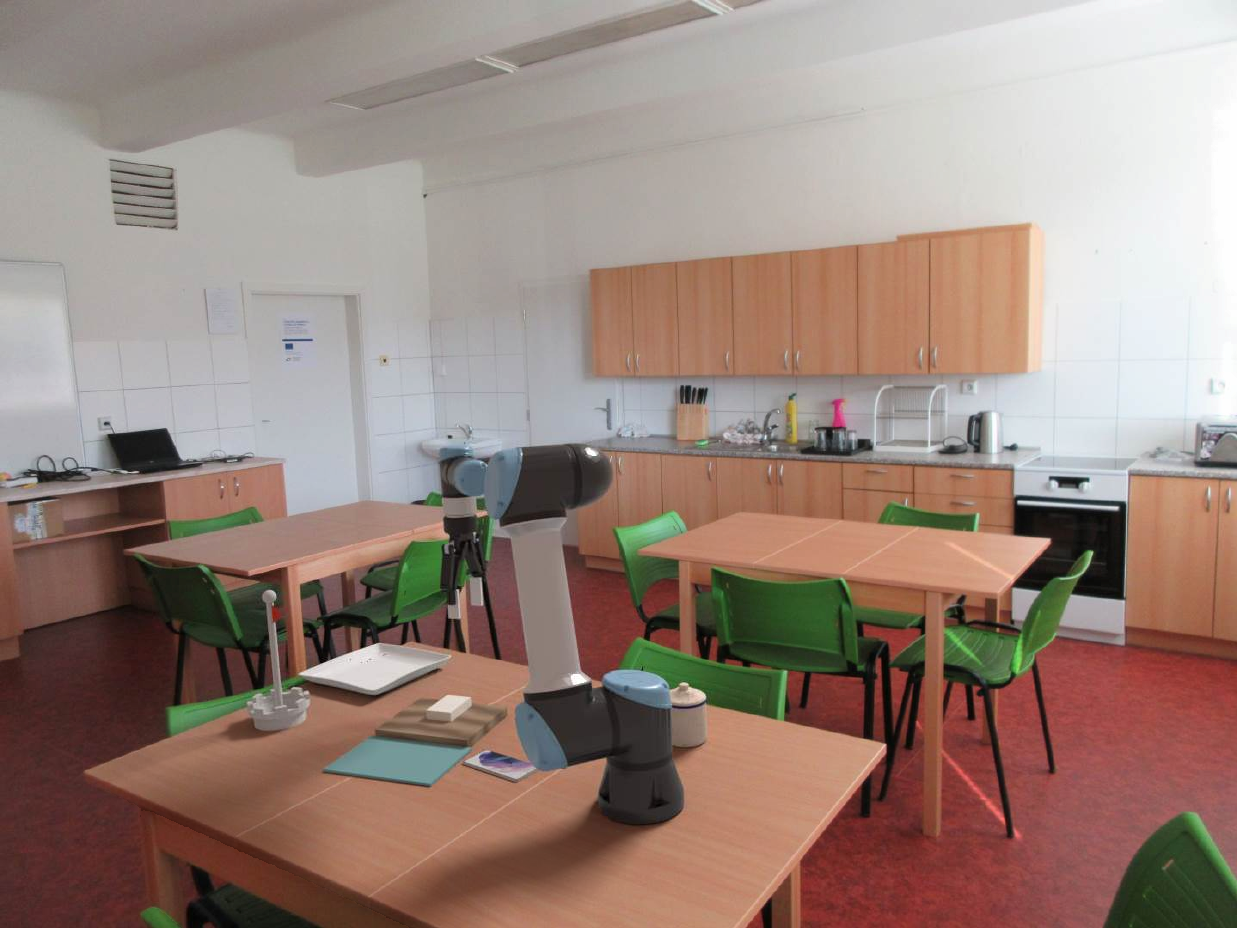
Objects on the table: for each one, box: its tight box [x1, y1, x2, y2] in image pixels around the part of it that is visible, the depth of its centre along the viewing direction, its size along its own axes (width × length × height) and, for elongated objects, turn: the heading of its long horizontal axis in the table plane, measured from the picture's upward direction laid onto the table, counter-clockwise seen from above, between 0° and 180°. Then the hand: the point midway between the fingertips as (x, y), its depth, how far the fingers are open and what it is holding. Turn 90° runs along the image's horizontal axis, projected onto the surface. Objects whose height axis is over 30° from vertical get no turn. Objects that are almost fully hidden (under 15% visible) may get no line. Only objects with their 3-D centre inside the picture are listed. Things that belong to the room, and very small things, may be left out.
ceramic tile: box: [426, 694, 473, 722], centre depth 201 cm, size 9×6×2 cm, turn 160°
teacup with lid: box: [670, 682, 708, 748], centre depth 187 cm, size 12×9×12 cm
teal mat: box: [322, 735, 473, 787], centre depth 183 cm, size 16×24×1 cm, turn 70°
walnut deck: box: [374, 697, 509, 748], centre depth 199 cm, size 18×22×2 cm
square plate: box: [298, 642, 452, 696], centre depth 232 cm, size 27×27×4 cm
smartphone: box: [462, 749, 539, 783], centre depth 179 cm, size 7×1×15 cm
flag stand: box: [246, 589, 311, 732], centre depth 204 cm, size 13×13×30 cm
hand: (466, 611), depth 208 cm, fingers open, 10 cm apart
